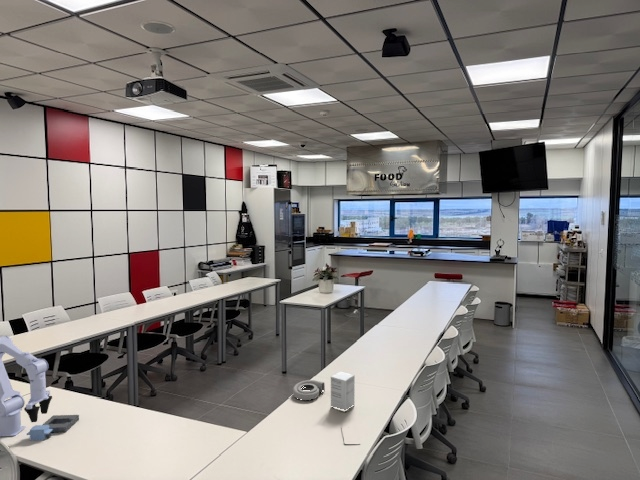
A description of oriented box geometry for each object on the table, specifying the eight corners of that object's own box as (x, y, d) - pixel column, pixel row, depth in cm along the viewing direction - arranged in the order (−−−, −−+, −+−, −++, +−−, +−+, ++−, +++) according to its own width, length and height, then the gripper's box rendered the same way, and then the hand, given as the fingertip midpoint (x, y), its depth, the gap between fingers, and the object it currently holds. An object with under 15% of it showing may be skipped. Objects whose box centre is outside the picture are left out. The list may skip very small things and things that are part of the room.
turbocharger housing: (287, 399, 228) (310, 406, 220) (287, 388, 228) (309, 394, 220) (305, 386, 243) (327, 392, 234) (304, 376, 242) (326, 381, 234)
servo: (26, 440, 184) (26, 429, 183) (32, 436, 188) (31, 425, 187) (47, 440, 184) (47, 429, 184) (53, 435, 188) (52, 424, 188)
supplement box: (340, 401, 223) (340, 370, 222) (354, 406, 218) (355, 374, 217) (330, 408, 215) (330, 376, 214) (345, 413, 210) (345, 380, 209)
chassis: (38, 433, 190) (38, 428, 190) (53, 420, 202) (53, 415, 201) (65, 432, 190) (65, 427, 190) (79, 419, 202) (78, 414, 202)
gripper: (37, 394, 178) (38, 425, 178) (56, 381, 192) (57, 409, 193) (20, 395, 177) (21, 425, 178) (40, 381, 192) (41, 410, 192)
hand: (39, 417), depth 185 cm, fingers open, 7 cm apart
